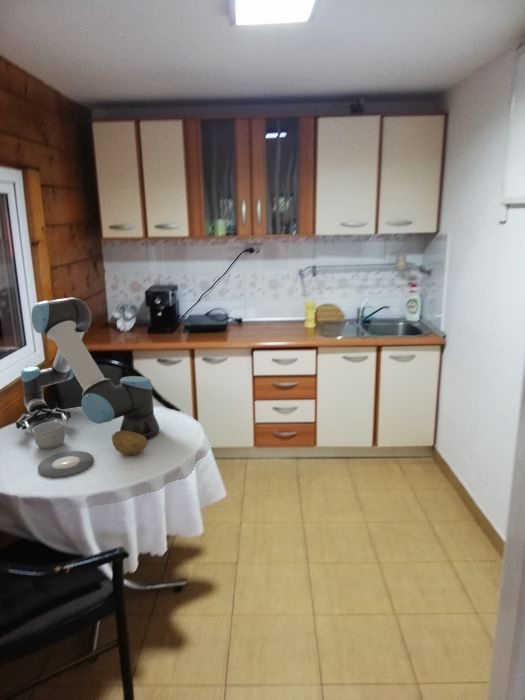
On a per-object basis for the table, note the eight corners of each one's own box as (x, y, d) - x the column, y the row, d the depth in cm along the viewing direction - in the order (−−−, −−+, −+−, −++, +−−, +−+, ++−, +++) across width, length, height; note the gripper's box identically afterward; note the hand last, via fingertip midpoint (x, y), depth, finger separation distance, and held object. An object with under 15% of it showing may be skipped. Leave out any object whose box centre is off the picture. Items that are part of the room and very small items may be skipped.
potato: (137, 462, 172) (135, 441, 170) (106, 455, 178) (104, 434, 176) (155, 451, 181) (153, 431, 179) (125, 444, 187) (123, 424, 185)
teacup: (54, 453, 181) (52, 432, 179) (28, 450, 183) (25, 430, 181) (76, 437, 194) (73, 418, 192) (51, 435, 196) (48, 416, 194)
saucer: (102, 454, 179) (102, 451, 178) (78, 479, 161) (78, 476, 161) (55, 452, 181) (55, 449, 181) (27, 476, 164) (26, 473, 163)
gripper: (70, 411, 215) (82, 427, 198) (6, 424, 202) (13, 442, 185) (68, 395, 214) (80, 409, 196) (4, 407, 201) (10, 423, 183)
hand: (47, 425), depth 191 cm, fingers open, 13 cm apart
